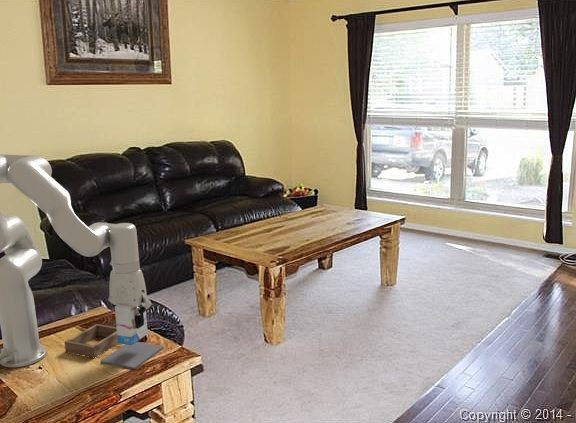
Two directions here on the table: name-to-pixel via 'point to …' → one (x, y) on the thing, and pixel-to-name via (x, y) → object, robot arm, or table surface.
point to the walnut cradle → (78, 341)
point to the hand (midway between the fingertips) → (131, 324)
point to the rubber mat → (132, 355)
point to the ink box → (128, 325)
